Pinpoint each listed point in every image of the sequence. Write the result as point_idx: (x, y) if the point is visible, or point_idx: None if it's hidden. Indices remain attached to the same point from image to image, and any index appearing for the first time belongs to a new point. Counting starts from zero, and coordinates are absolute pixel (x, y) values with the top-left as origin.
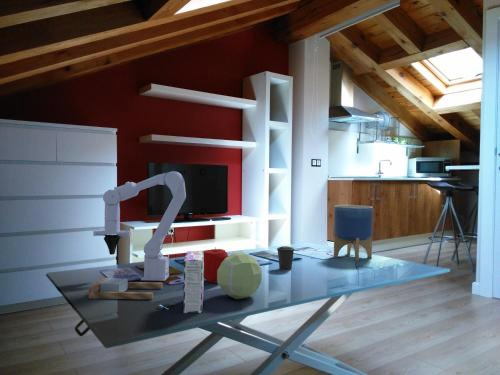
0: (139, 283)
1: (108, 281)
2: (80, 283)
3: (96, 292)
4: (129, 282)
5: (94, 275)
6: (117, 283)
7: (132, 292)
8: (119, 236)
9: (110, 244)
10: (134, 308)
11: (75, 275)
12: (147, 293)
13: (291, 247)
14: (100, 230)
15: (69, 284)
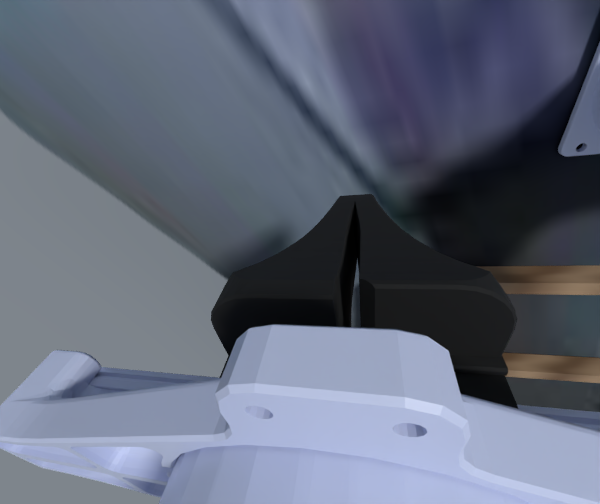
0: (557, 292)
1: None
2: (255, 235)
3: None
4: (503, 288)
5: (213, 85)
6: None
7: (527, 373)
8: (500, 376)
9: (350, 316)
10: (530, 402)
11: (122, 110)
12: (587, 381)
13: None
14: (44, 445)
15: (226, 249)
